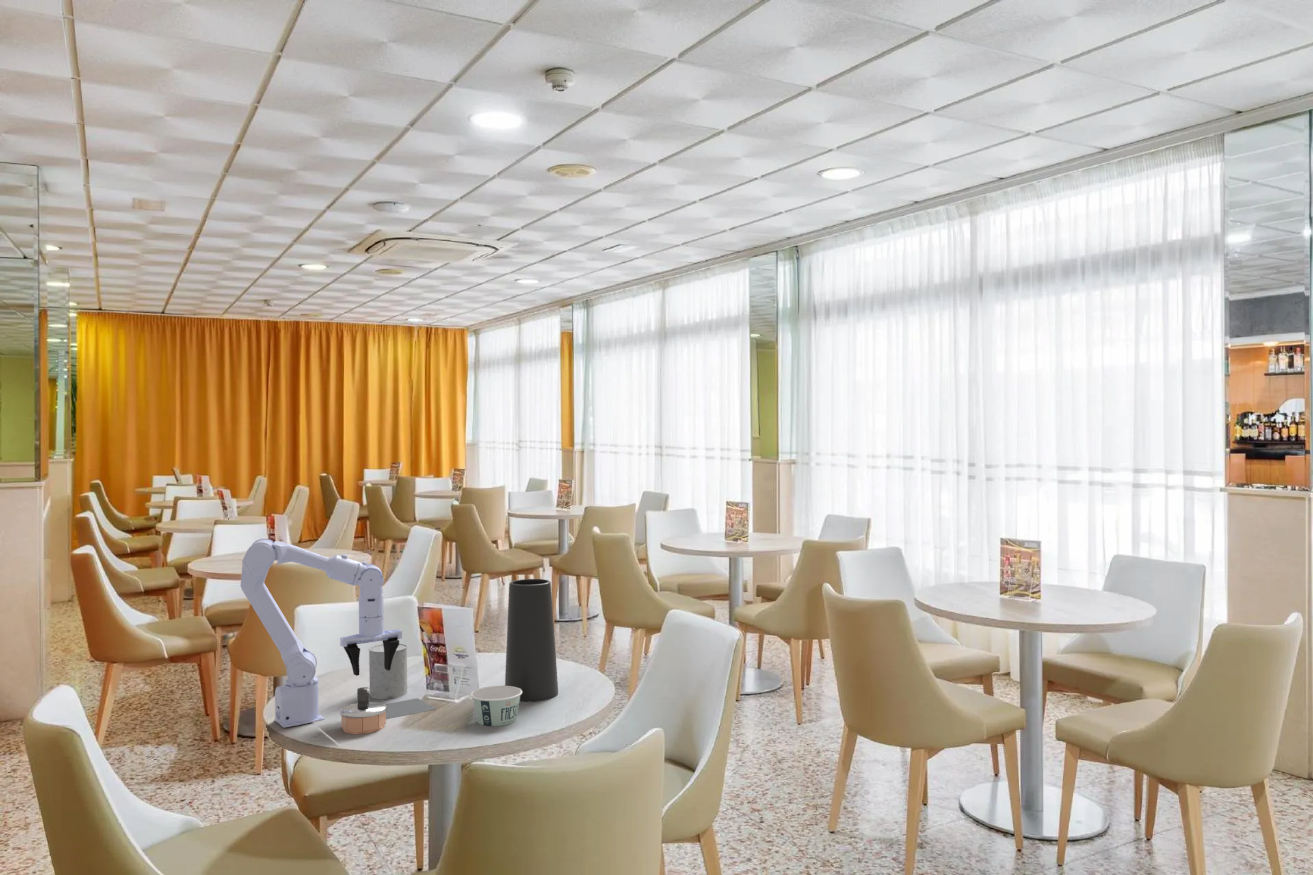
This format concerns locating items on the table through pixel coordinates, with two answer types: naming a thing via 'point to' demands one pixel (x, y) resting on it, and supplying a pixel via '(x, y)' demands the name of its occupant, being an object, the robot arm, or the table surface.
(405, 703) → the mat
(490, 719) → the food container
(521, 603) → the vase
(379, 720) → the bowl
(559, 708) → the table surface
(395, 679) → the grey concrete cylinder
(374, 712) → the lid
